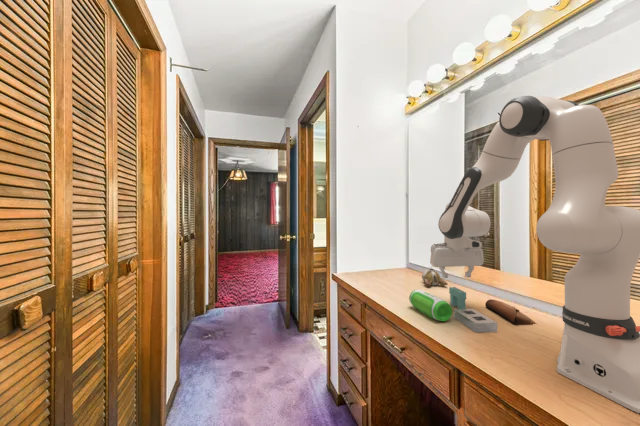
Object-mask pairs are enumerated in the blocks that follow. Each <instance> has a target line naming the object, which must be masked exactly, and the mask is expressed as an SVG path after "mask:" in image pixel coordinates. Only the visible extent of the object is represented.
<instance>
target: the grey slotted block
mask: <svg viewBox="0 0 640 426" xmlns="http://www.w3.org/2000/svg"><path fill="white" fill-rule="evenodd" d="M453 318H454V319H455V320H457V321H458V322H460V323H461V324H462V325H464V326H465V327H467V328H468V329H470V330H471V331H473V332H474V333H475V334H477V333H478V334H480V333H498V322H497V321H495V320H493V319H492V318H490V317H488V316H487V315H485V314H484V313H482V312H480V311H478V310H476V309H475V308H466V309H458V308H454V309H453Z"/></svg>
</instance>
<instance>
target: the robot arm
mask: <svg viewBox="0 0 640 426" xmlns="http://www.w3.org/2000/svg"><path fill="white" fill-rule="evenodd" d="M535 140H539V141H543V142H545V141H549V144H550V148H551V157H552V162H553V170H554V171H553V172H554V179H555V180H554V181H555V188H554V193H553V196H552V197H553V198H552V200H551V203H550V205H549V207H548V209H547V210H546V211H544V213H543V214H542V215H541V216H540V217H539V218H538V221H537V223H536V236H537V238H538V239H539V242H540V243H541V244H542V245H543V247H545V248H547V249H548V250H550V251H555V252H561V253H565V254H566V253H567V254H573V255H576V254H577V255H579V254H580V255H579V257H578V258H577V259H578V260H577V261H576V263H575V265H574V266H572V268H570V269H569V270H568V271H567V272H566V274H565V275H564V280H563V281H564V304H563V306H562V311H561V315H562V321H563V323H564V327H563V332H562V337H561V345H560V351H559V354H558V357H557V359H556V362H557V365H556V369H555V370H556V372H557V373H558V374H560V375H562V376H564V377H566V378H568V379H570V380H571V381H574V382H576V383H577V384H579V385H581V386H583V387H585V388H588V390H592V391H594V392H595V393H596V394H597V393H598V394H600V395H601V396H604V397H605V398H607V399H608V400H611V401H612V402H614V403H617V404H618V405H621V406H623V407H625V408H627V409H629V410H630V411H632V412H634V413H637V414H640V325H639V326H638V325H636V323H635V321H634V319H633V317H632V316H631V285H632V279H633V274H634V272H635V269H636V267H637V264H638V262H639V260H640V209H636V208H634V207H629V206H622V205H606V197H607V192H608V191H609V187H611V186H612V185H613V184H614V183H615V182H616V181H617V179H619V178H618V177H619V168H618V163H617V158H616V152H615V146H614V141H613V138H612V132H611V130H610V127H609V125H608V122H607V120H606V118H605V116H604V114H603V112H602V110H601V109H600V108H599V107H597V106H595V105H593V104H579V103H577V102H575V101H572V100H563V99H559V98H554V97H551V96H532V95H523V96H519V97H515V98H511V99H510V101H508V102H506V104H505V105H504V106H503V108H502V109H501V112H500V114H499V120H498V121H497V123H496V124H495V126H494V127H493V128H492V130H491V132H490V134H489V135H488V138H487V139H486V142H485V144H484V147H483V149H482V152H481V154H480V156H479V158H478V159H477V161H476V162H475V163H474V165H473V166H471V168H469V170H467V171H466V172H465V173H464V176H462V179H461V181H460V183H459V185H458V186H457V188H456V190H455V192H454V194H453V196H452V198H451V200H450V202H448V203H447V204H446V205H445V209H444V211H443V212H442V213H441V215H440V217H439V220H438V229H439V231H440V232H441V234H442V235H443V237H444V238H443V239H444V241H443V242H435V243H434V244H432V245H431V246H430V252H431V253H430V260H429V262H430V264H431V266H432V267H434V268H439V271H440V272H441V276H442V279H448V278H449V274H448V273H447V272H446V271H445V270H446V268H450V267H467V271H465V272H464V274H465V275H464V277H466V278H471V277H472V273H473V272H474V270H475V267H480V266H483V264H484V261H485V259H484V251H483V248H482V247H483V243H482V242H481V241H478V240H476V239H475V240H474V239H472V237H473V238H474V237H483V236H486V235H487V234H488V233H489V232H491V228H492V220H491V217H490V214H488V213H487V212H486V211H484V210H480V209H477V208H474V207H472V206H470V204H471V203H472V201H473V199H474V197H475V196H476V195H477V194H478V193H479V192H480V191H481V190H483V189H484V188H486V187H488V186H489V187H490V186H491V185H493V184H496V183H500V182H503V181H505V180H507V179H508V178H510V177H511V176H512V175H513V173H514V172H515V171H516V169H517V168H518V166H519V164H520V161H521V159H522V156H523V154H524V152H525V149H526V147H527V145H529V143H530V142H533V141H535Z"/></svg>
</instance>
